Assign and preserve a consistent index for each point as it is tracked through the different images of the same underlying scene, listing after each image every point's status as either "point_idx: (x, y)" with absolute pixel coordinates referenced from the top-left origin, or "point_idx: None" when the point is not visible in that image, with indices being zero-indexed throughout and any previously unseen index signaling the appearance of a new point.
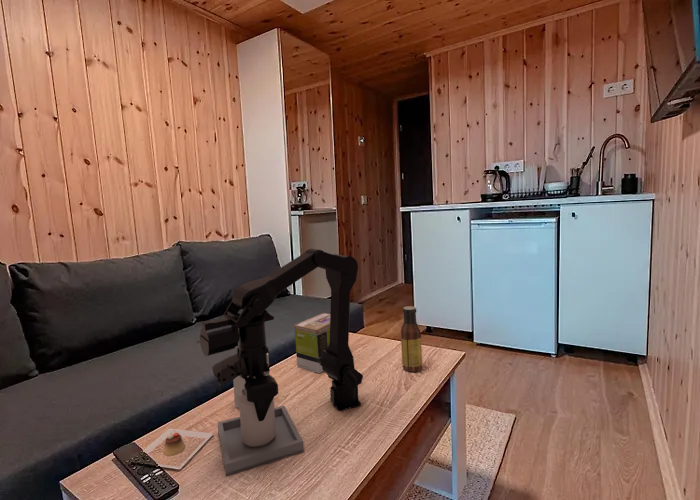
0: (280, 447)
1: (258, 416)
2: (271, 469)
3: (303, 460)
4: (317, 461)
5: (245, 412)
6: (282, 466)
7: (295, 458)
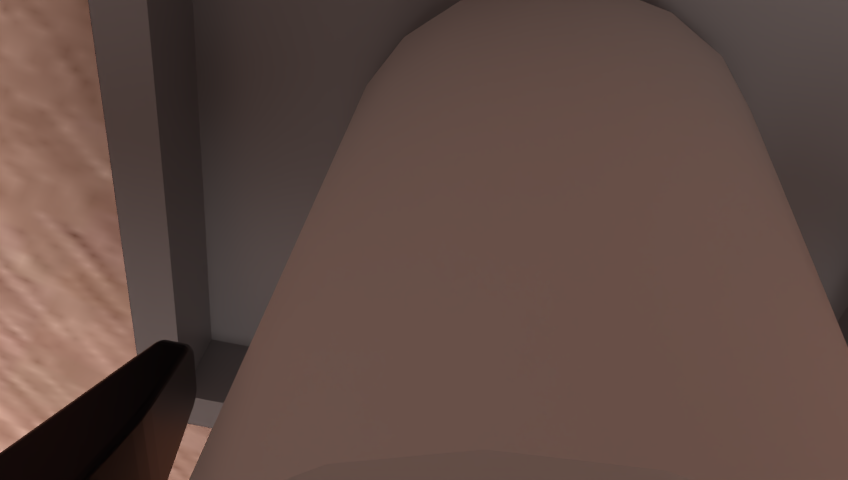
0: (128, 260)
1: (73, 410)
2: (66, 73)
3: (90, 301)
4: (47, 356)
5: (342, 309)
6: (74, 161)
7: None
